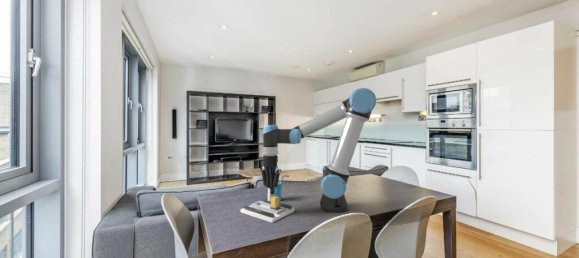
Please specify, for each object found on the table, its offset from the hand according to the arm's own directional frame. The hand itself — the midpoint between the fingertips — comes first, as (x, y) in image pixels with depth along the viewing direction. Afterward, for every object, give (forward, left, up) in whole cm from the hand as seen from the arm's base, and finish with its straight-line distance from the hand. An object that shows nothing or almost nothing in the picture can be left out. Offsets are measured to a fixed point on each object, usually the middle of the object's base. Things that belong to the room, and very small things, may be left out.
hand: (270, 200), depth 122 cm
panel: (+2, 0, -7) cm, 7 cm away
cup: (+10, -18, -7) cm, 22 cm away
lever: (-3, 0, -5) cm, 6 cm away
